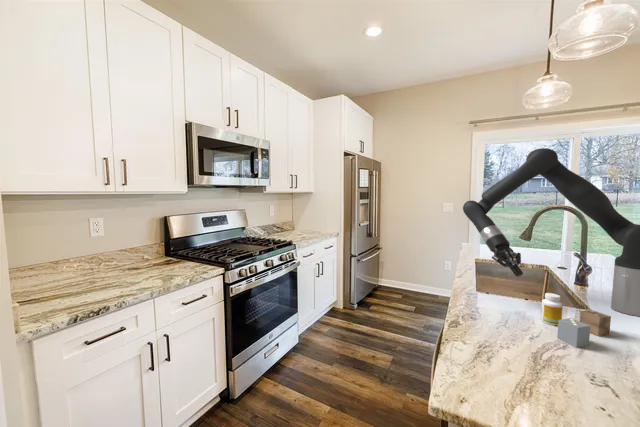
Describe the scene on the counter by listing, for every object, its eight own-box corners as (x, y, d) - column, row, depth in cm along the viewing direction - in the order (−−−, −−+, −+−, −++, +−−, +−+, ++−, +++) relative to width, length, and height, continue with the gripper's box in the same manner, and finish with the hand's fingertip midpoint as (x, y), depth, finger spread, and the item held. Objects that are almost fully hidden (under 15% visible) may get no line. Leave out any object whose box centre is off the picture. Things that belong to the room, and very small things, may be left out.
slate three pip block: (569, 336, 83) (570, 317, 83) (588, 345, 78) (590, 325, 78) (557, 338, 82) (558, 319, 82) (576, 347, 77) (577, 327, 77)
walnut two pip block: (590, 327, 90) (591, 309, 89) (609, 334, 85) (611, 315, 84) (579, 328, 88) (580, 310, 88) (598, 336, 84) (599, 317, 83)
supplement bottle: (565, 327, 89) (567, 298, 89) (546, 325, 90) (548, 297, 90) (554, 319, 95) (556, 292, 94) (537, 318, 96) (539, 291, 95)
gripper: (487, 233, 110) (513, 271, 99) (512, 233, 113) (541, 269, 102) (475, 244, 115) (499, 281, 104) (500, 243, 118) (526, 279, 107)
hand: (520, 275), depth 103 cm, fingers closed
